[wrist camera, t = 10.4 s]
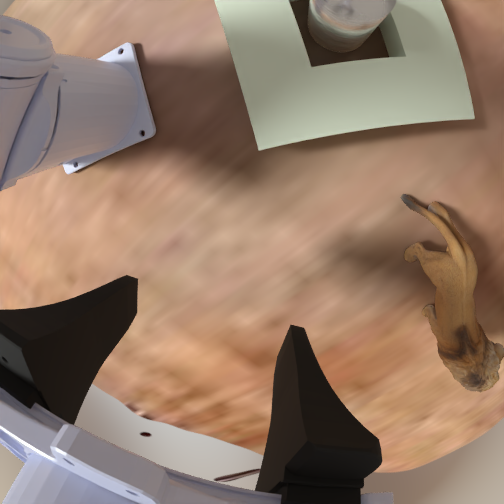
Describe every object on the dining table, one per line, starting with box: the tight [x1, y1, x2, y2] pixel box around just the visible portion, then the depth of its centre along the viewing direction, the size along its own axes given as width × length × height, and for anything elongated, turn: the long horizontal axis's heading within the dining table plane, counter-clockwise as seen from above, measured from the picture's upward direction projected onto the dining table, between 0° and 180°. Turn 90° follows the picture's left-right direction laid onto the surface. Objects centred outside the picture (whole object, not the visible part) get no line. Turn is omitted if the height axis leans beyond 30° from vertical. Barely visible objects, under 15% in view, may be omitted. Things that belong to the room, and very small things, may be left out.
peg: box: [308, 0, 397, 52], centre depth 12 cm, size 4×4×7 cm
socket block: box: [214, 0, 475, 150], centre depth 14 cm, size 14×14×3 cm
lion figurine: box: [401, 194, 504, 392], centre depth 17 cm, size 15×5×9 cm, turn 38°
